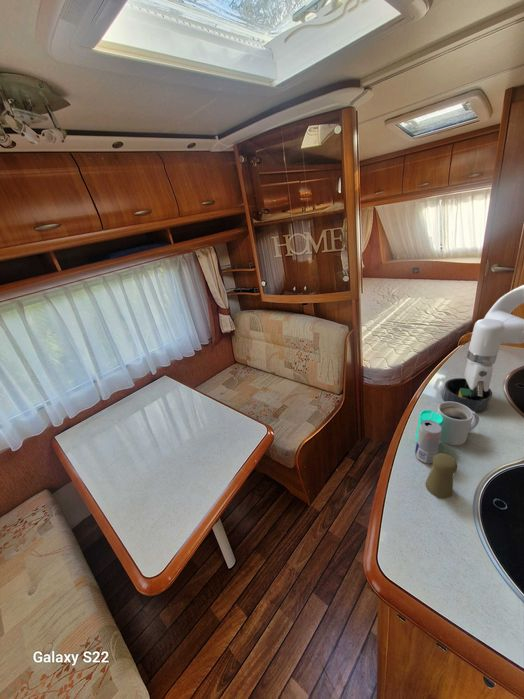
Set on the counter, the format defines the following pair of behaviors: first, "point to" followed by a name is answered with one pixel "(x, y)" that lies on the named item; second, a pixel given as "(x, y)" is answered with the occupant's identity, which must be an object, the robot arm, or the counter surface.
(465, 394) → the sponge
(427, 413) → the candle
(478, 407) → the bowl
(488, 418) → the counter surface
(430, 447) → the energy drink
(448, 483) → the cork
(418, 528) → the counter surface
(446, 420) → the mug
